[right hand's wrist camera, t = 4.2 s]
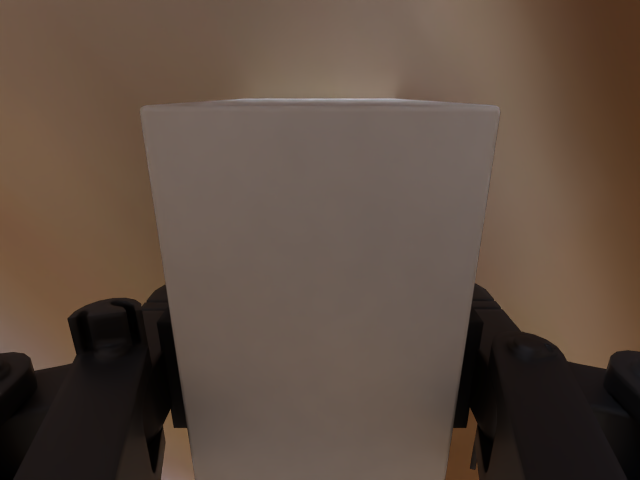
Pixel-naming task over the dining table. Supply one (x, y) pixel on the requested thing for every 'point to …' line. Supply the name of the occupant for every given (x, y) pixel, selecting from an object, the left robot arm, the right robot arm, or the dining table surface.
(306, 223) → the bar
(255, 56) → the dining table surface
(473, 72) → the dining table surface
